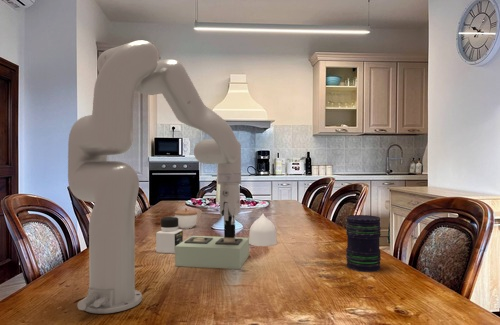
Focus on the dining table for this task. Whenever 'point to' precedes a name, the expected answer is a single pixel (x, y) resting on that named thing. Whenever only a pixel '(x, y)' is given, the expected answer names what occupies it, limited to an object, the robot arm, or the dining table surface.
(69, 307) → the dining table surface
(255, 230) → the teardrop
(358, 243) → the storage jar
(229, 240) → the peg right
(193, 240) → the peg left
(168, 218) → the medicine bottle
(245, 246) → the sage block
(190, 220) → the lidded jar
